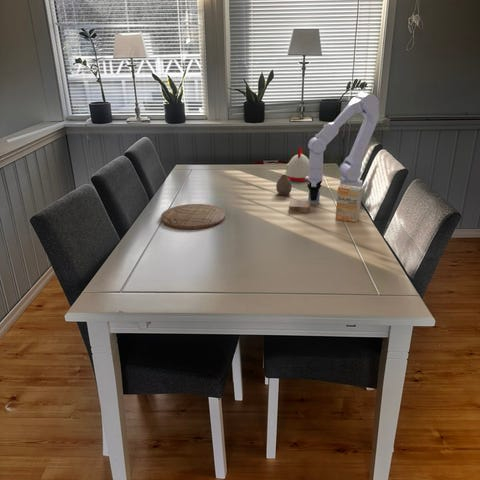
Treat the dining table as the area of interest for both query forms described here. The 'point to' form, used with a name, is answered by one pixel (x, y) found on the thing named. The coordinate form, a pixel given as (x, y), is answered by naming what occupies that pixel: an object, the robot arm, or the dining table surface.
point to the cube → (316, 199)
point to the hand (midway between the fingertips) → (314, 198)
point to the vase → (284, 185)
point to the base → (299, 206)
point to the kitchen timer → (298, 167)
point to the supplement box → (348, 203)
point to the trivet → (193, 216)
